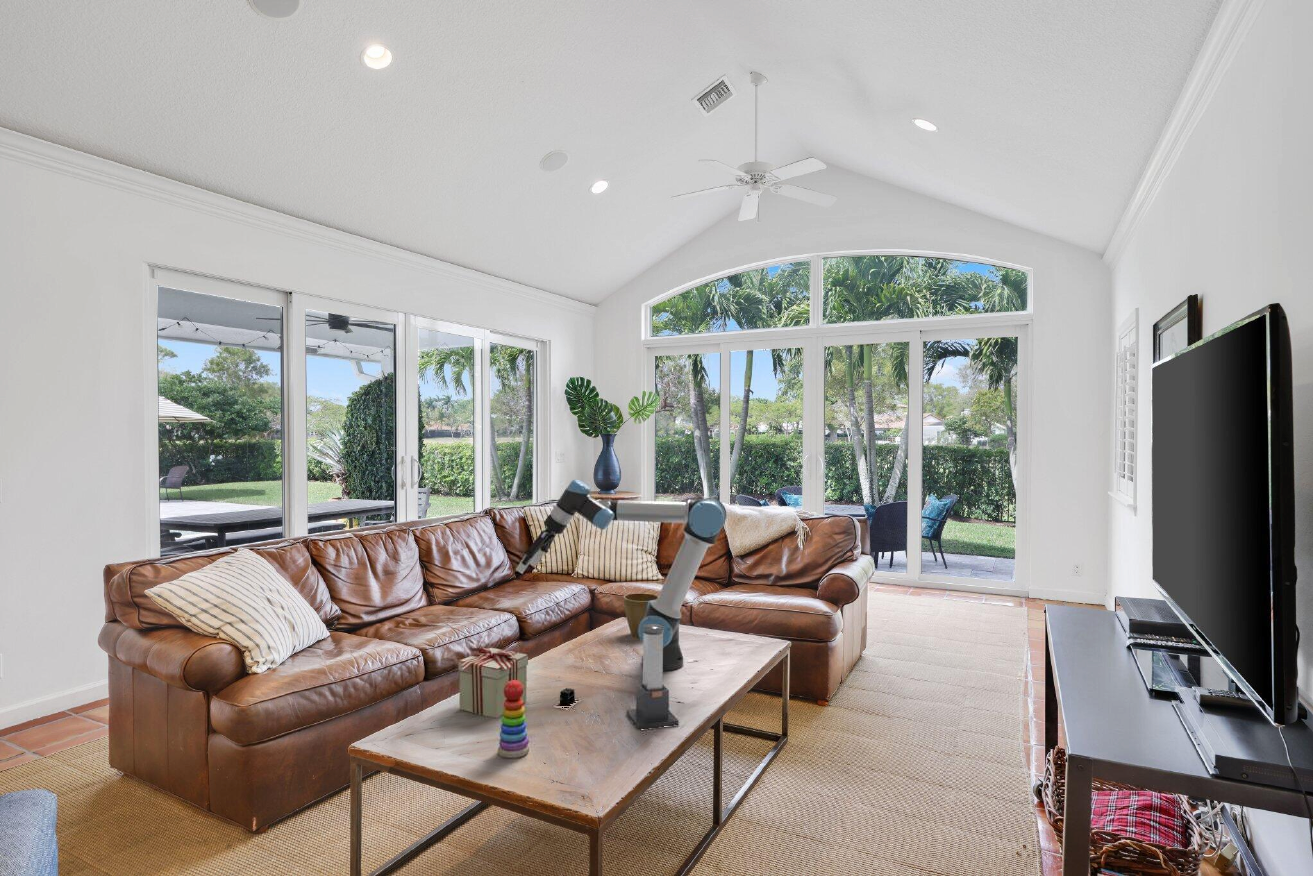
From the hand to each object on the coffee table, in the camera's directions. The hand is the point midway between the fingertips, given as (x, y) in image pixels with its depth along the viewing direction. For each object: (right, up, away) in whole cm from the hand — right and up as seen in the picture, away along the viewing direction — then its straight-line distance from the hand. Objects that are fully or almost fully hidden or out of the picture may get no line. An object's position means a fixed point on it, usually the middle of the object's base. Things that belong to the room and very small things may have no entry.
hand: (525, 568), depth 252 cm
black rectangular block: (+19, -36, -34) cm, 53 cm away
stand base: (+45, -36, -46) cm, 74 cm away
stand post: (+45, -34, -46) cm, 73 cm away
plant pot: (+40, -36, +44) cm, 70 cm away
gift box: (-3, -35, -38) cm, 52 cm away
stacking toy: (+10, -35, -69) cm, 78 cm away
